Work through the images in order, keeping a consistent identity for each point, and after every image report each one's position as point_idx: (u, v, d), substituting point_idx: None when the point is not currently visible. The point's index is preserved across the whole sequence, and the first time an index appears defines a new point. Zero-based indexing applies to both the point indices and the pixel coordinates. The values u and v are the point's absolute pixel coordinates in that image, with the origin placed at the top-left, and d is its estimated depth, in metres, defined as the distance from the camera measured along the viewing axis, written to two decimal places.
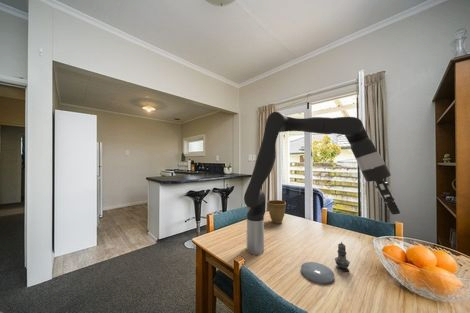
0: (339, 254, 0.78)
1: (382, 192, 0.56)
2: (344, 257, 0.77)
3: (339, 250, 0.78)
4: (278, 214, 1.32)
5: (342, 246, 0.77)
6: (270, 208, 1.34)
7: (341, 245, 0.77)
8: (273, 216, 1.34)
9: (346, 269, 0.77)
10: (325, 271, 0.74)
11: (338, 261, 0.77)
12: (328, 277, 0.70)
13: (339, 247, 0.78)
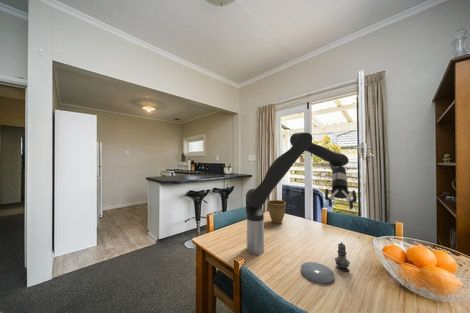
0: (339, 254, 0.78)
1: (355, 195, 0.89)
2: (344, 257, 0.77)
3: (339, 250, 0.78)
4: (278, 214, 1.32)
5: (342, 246, 0.77)
6: (270, 208, 1.34)
7: (341, 245, 0.77)
8: (273, 216, 1.34)
9: (346, 269, 0.77)
10: (325, 271, 0.74)
11: (338, 261, 0.77)
12: (328, 277, 0.70)
13: (339, 247, 0.78)
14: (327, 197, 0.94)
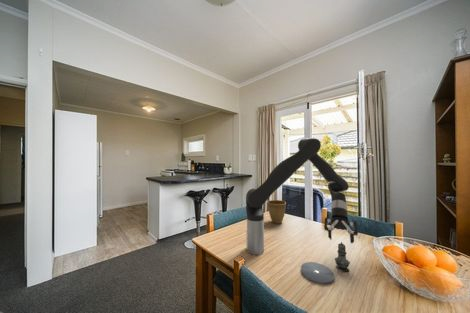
0: (339, 254, 0.78)
1: (356, 227, 0.84)
2: (344, 257, 0.77)
3: (339, 250, 0.78)
4: (278, 214, 1.32)
5: (342, 246, 0.77)
6: (270, 208, 1.34)
7: (341, 245, 0.77)
8: (273, 216, 1.34)
9: (346, 269, 0.77)
10: (325, 271, 0.74)
11: (338, 261, 0.77)
12: (328, 277, 0.70)
13: (339, 247, 0.78)
14: (326, 227, 0.88)
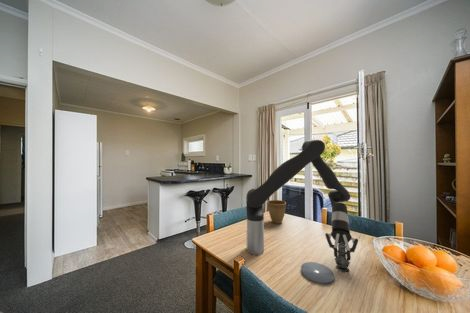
0: (339, 254, 0.78)
1: (356, 245, 0.78)
2: (344, 257, 0.77)
3: (339, 250, 0.78)
4: (278, 214, 1.32)
5: (342, 246, 0.77)
6: (270, 208, 1.34)
7: (341, 245, 0.77)
8: (273, 216, 1.34)
9: (346, 269, 0.77)
10: (325, 271, 0.74)
11: (338, 261, 0.77)
12: (328, 277, 0.70)
13: (339, 247, 0.78)
14: (332, 245, 0.81)
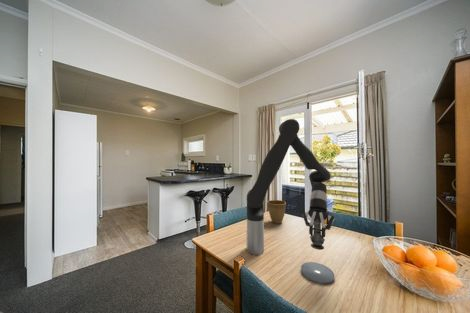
0: (314, 231, 0.75)
1: (332, 222, 0.75)
2: (319, 234, 0.74)
3: (314, 227, 0.75)
4: (278, 214, 1.32)
5: (317, 223, 0.74)
6: (270, 208, 1.34)
7: (316, 222, 0.75)
8: (273, 216, 1.34)
9: (321, 246, 0.74)
10: (325, 271, 0.74)
11: (313, 238, 0.74)
12: (328, 277, 0.70)
13: (314, 224, 0.75)
14: (308, 223, 0.78)
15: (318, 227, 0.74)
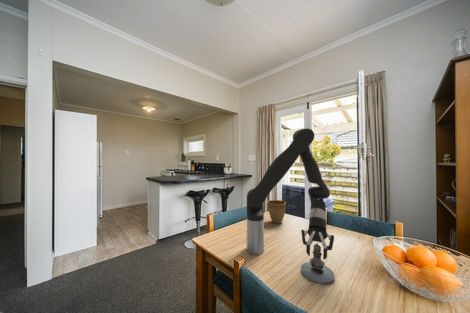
0: (314, 255, 0.74)
1: None
2: (319, 258, 0.73)
3: (314, 251, 0.74)
4: (278, 214, 1.32)
5: (317, 247, 0.74)
6: (270, 208, 1.34)
7: (316, 246, 0.74)
8: (273, 216, 1.34)
9: (320, 271, 0.73)
10: (325, 271, 0.74)
11: (312, 262, 0.74)
12: (328, 277, 0.70)
13: (314, 248, 0.74)
14: (305, 241, 0.78)
15: (318, 251, 0.73)
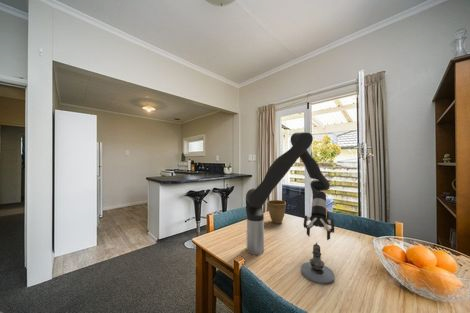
0: (314, 255, 0.74)
1: (333, 224, 0.86)
2: (318, 258, 0.73)
3: (314, 251, 0.75)
4: (278, 214, 1.32)
5: (317, 247, 0.74)
6: (270, 208, 1.34)
7: (316, 246, 0.74)
8: (273, 216, 1.34)
9: (320, 271, 0.73)
10: (325, 271, 0.74)
11: (312, 262, 0.74)
12: (328, 277, 0.70)
13: (314, 248, 0.75)
14: (305, 225, 0.91)
15: (317, 251, 0.74)
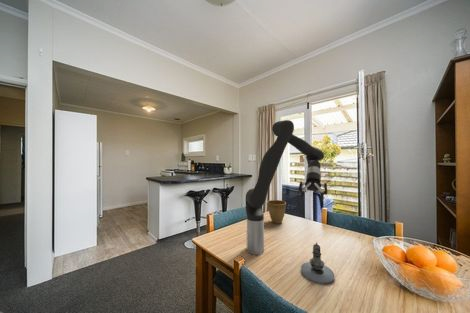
0: (314, 255, 0.74)
1: None
2: (318, 258, 0.73)
3: (314, 251, 0.75)
4: (278, 214, 1.32)
5: (317, 247, 0.74)
6: (270, 208, 1.34)
7: (316, 246, 0.74)
8: (273, 216, 1.34)
9: (320, 271, 0.73)
10: (325, 271, 0.74)
11: (312, 262, 0.74)
12: (328, 277, 0.70)
13: (314, 248, 0.75)
14: (300, 189, 0.96)
15: (317, 251, 0.74)
